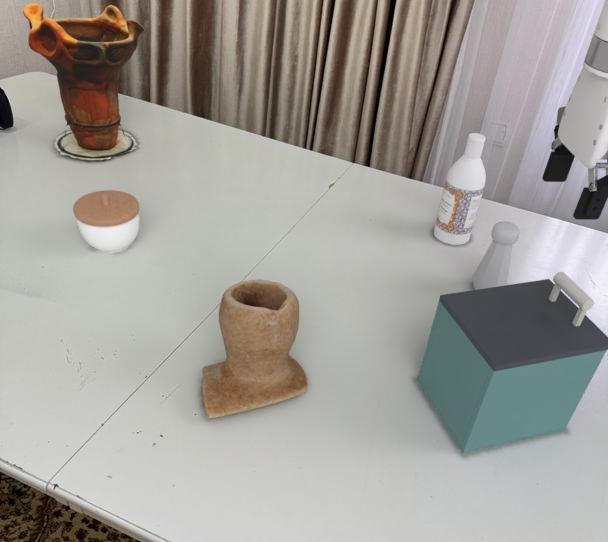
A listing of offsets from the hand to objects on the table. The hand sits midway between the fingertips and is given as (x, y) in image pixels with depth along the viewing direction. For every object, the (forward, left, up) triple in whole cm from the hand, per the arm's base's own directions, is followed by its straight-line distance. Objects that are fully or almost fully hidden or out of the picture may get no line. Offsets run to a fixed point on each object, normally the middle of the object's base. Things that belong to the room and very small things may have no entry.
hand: (568, 198), depth 79 cm
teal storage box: (-4, +14, -26) cm, 29 cm away
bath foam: (+24, -21, -26) cm, 41 cm away
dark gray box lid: (-4, +14, -11) cm, 18 cm away
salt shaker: (+10, -10, -26) cm, 29 cm away
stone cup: (+22, +35, -26) cm, 49 cm away
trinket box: (+64, +28, -26) cm, 75 cm away
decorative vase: (+100, +6, -26) cm, 104 cm away
